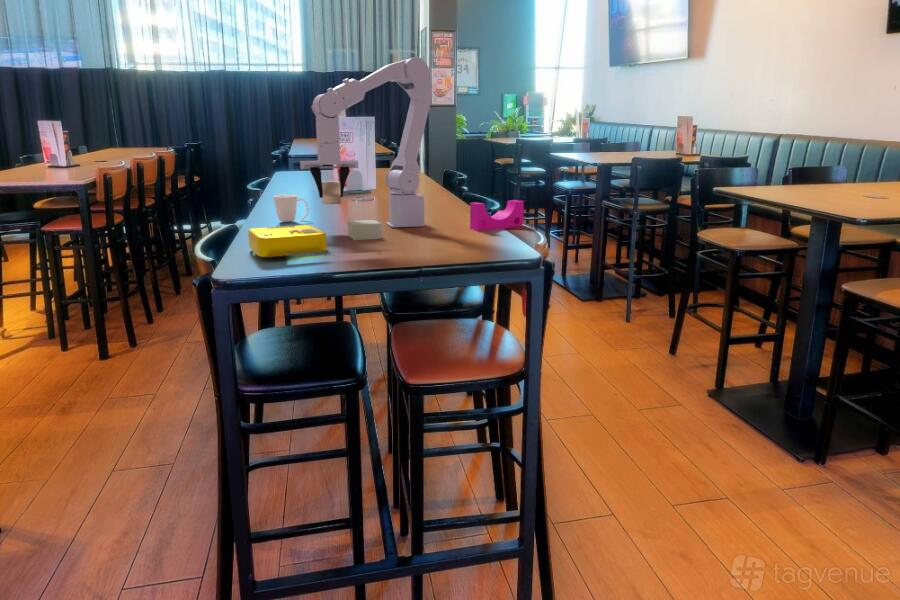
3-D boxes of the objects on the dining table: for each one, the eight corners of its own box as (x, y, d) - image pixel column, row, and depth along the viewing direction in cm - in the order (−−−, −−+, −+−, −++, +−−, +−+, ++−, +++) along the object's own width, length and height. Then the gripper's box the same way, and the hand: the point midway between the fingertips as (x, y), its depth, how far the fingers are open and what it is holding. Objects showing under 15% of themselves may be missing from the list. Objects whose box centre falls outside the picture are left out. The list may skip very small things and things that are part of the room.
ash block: (339, 202, 162) (338, 180, 160) (341, 203, 157) (340, 182, 156) (321, 202, 160) (320, 181, 159) (323, 204, 156) (322, 182, 155)
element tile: (311, 242, 148) (310, 222, 147) (329, 252, 135) (328, 231, 134) (248, 247, 142) (246, 226, 140) (259, 258, 129) (258, 235, 127)
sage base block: (375, 235, 158) (374, 219, 157) (381, 239, 152) (381, 223, 151) (348, 236, 156) (347, 221, 155) (353, 241, 149) (353, 224, 148)
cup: (271, 223, 177) (269, 195, 174) (304, 221, 182) (303, 193, 180) (279, 226, 171) (277, 197, 169) (313, 223, 176) (311, 195, 174)
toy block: (509, 225, 176) (510, 199, 174) (522, 228, 170) (523, 201, 168) (465, 229, 168) (465, 201, 166) (477, 232, 163) (477, 204, 161)
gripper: (354, 142, 161) (356, 194, 164) (298, 143, 157) (301, 196, 160) (358, 143, 154) (360, 197, 158) (299, 143, 150) (303, 198, 154)
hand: (331, 197), depth 159 cm, fingers closed on ash block, 4 cm apart
